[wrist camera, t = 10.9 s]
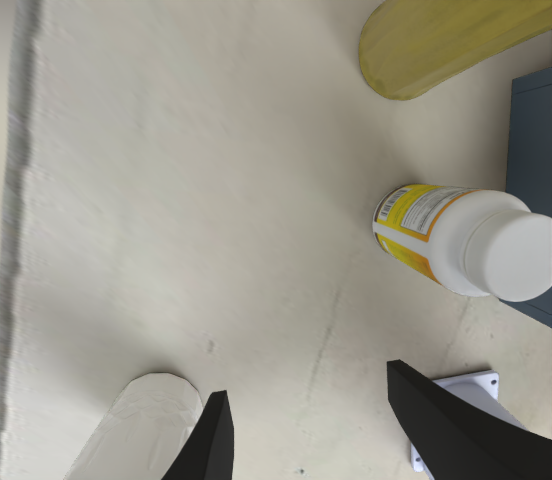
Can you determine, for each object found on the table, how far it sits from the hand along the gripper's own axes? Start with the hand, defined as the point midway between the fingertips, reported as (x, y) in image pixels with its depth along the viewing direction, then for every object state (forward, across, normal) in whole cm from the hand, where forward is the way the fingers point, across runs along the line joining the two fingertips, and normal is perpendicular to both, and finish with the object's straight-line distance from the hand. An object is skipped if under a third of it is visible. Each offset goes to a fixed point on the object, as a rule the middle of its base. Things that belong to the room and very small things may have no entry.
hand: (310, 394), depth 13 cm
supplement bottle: (+11, -10, -5) cm, 15 cm away
